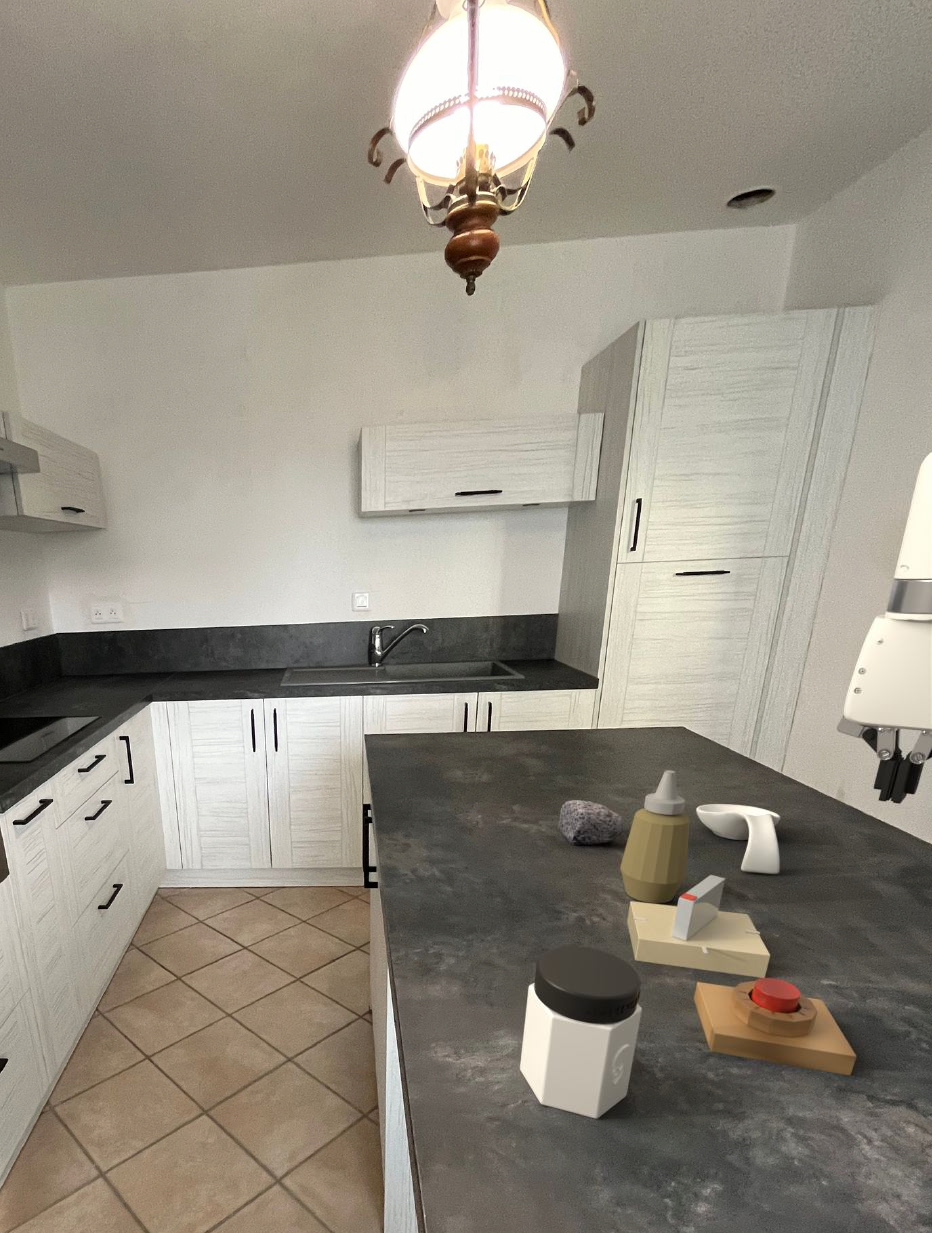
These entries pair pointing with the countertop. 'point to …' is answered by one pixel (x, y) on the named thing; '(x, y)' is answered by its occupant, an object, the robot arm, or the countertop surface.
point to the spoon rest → (746, 833)
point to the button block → (772, 1030)
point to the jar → (581, 1029)
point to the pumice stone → (589, 823)
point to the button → (776, 995)
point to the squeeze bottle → (657, 846)
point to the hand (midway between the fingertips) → (892, 798)
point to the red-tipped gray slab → (698, 907)
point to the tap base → (697, 941)
